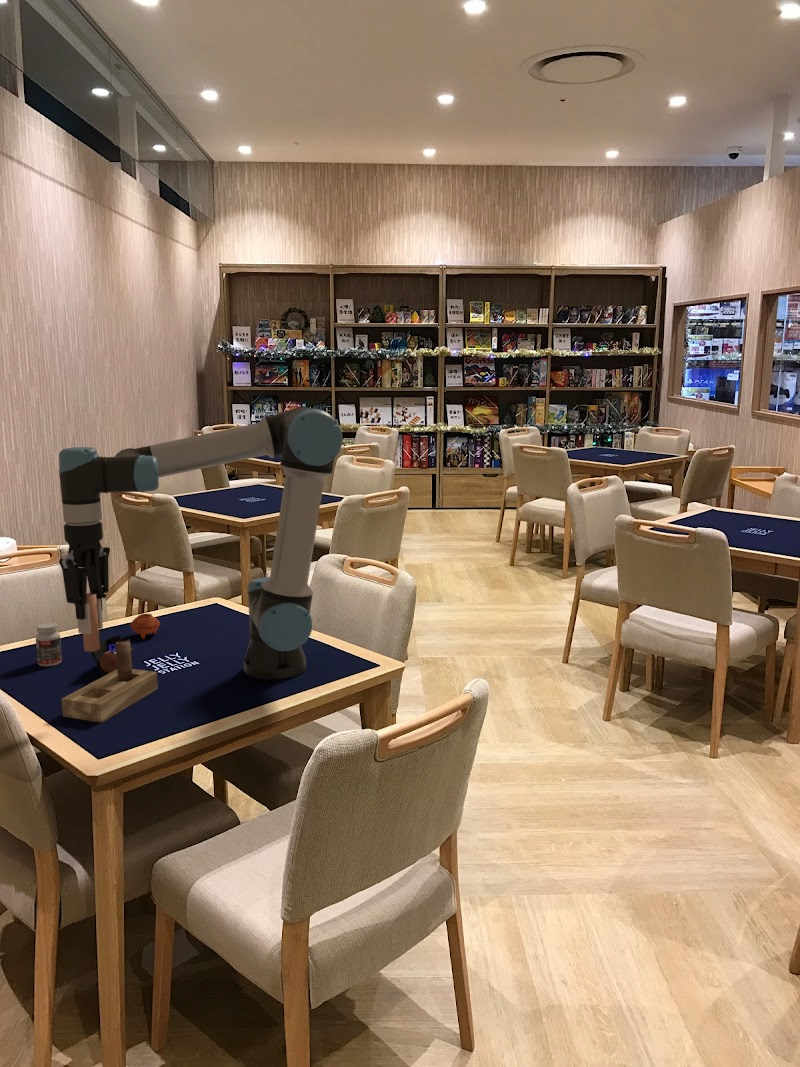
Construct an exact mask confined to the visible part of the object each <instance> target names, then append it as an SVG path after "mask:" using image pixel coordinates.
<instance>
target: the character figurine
mask: <svg viewBox="0 0 800 1067" xmlns="http://www.w3.org/2000/svg"><path fill="white" fill-rule="evenodd" d="M126 641H127V642H130V643H131V639H127V640H126ZM118 642H123V639H122V636H121V635H120V634H118V635H114V636H112V637H110V638H107V639H103V641H102V642H101V643H100V649H99V650H97V651H92V652H91V655H92V657H93V660H94V662H95V664H96V667H97V668H98V670H99V672H100V674H101V678H102V677H103V676H105V675H107V674H109V673H111V672H113V671H115V670H117V661H116V648H115V644H116V643H118ZM130 648H131V653H132V651H134V647H133V646H130Z"/></svg>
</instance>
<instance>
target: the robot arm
mask: <svg viewBox="0 0 800 1067" xmlns="http://www.w3.org/2000/svg"><path fill="white" fill-rule="evenodd" d="M342 445H343V433H342V428H341V427H340V425H339V422H338V421H337V420H336V419H335V418H334V417H333V416H332V415H331V414H330V413H329V412H326V411H325V410H322V409H318V408H313V407H308V406H299V407H295V408H291V409H289V410H286V411H283V412H278V413H275V414H272V415H269V416H263V417H261V419H260V421H259V422H256V423H252V424H247V425H242V426H237V427H232V428H227V429H223V430H217V431H214V432H210V433H209V432H208V433H204V434H198V435H195V436H189V437H184V438H180V439H176V440H170V441H166V442H165V441H164V442H160V443H156V444H155V443H154V444H151V445H147V446H142V447H137V448H136V447H135V448H132V447H128V448H125V449H121V450H120V451H119V452H117V453H116V454H115V456H99V454H98V451H97V449H96V448H95V447H91V446H90V447H89V446H78V447H77V446H74V447H65V448H63V449H61V451H60V452H59V453H58V463H59V464H58V469H59V470H58V473H59V486H60V494H61V503H62V518H63V522H65V524H64V525H63V535H64V536H63V537H64V541H65V542H66V543H67V544H68V550H67V555H66V556H65V557H64V558H59V559H58V563H59V567H61V572H62V577H63V584H64V592H65V597H66V599H65V600H66V603H67V604H73V605H74V608H75V610H74V611H75V618H76V619H77V630H78V631H77V632H78V633H79V634H83V633H84V634H91V620H90V607H89V603H86V593H87V587H88V588H89V593H95V594H96V600H97V614H98V627H99V630H102V629H103V628H104V623H103V609H104V608H103V599H106V598H107V594H106V593H108V592H109V588H110V585H109V580H110V579H109V557H110V552H111V549H110V547H107V546H102V544H101V541H102V540H103V538H104V533H103V522H101V521H102V519H103V515H102V514H103V512H102V503H101V502H102V501H101V494H108V493H109V494H110V493H113V494H114V493H145V492H153V491H156V490H158V489H159V488H160V487H159V486H160V479H159V478H164V477H169V476H174V475H179V474H184V473H189V472H192V471H197V470H202V469H206V468H211V467H216V466H221V465H226V464H230V463H233V462H239V461H244V460H250V459H253V458H257V457H262V456H268V457H269V458H270V459H275V458H278V457H280V464H279V466H280V468H281V469H282V471H283V472H284V475H285V476H284V482H283V483H284V484H283V489H282V496H281V497H282V498H281V504H280V511H279V516H278V523H277V528H276V536H275V542H274V549H273V554H272V563H271V569H270V575H269V576H266V577H265V576H264V577H259V578H253V579H251V580H250V581H248V585H247V591H246V593H247V596H248V597H247V598H248V620H249V622H248V623H249V624H248V625H249V643H248V646H247V650H246V653H245V656H244V660H243V672H244V673H245V675H247V676H248V677H250V678H254V679H258V680H283V679H289V678H292V677H296V676H298V675H300V674H303V673H304V672H305V670H306V669H307V659H306V656H305V652H304V650H303V647H302V645H304V644H305V643H306V642H307V640H308V639H309V638H310V637H311V634H312V630H313V619H312V615H311V614H310V613H311V607H312V601H313V595H314V591H313V590H312V589H311V587H310V585H309V576H310V571H311V564H312V557H313V551H314V545H315V540H316V535H317V534H316V533H317V527H318V521H319V513H320V507H321V503H322V496H323V491H324V490H323V489H324V485H325V480H326V479H327V478H329V477H330V476H331V475H333V471H334V464H335V459H336V458H337V456H338V455H339V453H340V451H341V448H342ZM87 583H88V584H87ZM80 598H81V599H80Z"/></svg>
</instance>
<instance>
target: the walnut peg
mask: <svg viewBox="0 0 800 1067" xmlns="http://www.w3.org/2000/svg"><path fill="white" fill-rule="evenodd" d="M122 641H123V640H122ZM115 648H116V661H117V674H118V681H123V682H129V681H130V680H132V679H133V676H132V669H133V665H132V664H133V662H132V652H131V641H130V642H127V640H125V641H123V642H118V643H116V644H115Z"/></svg>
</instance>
